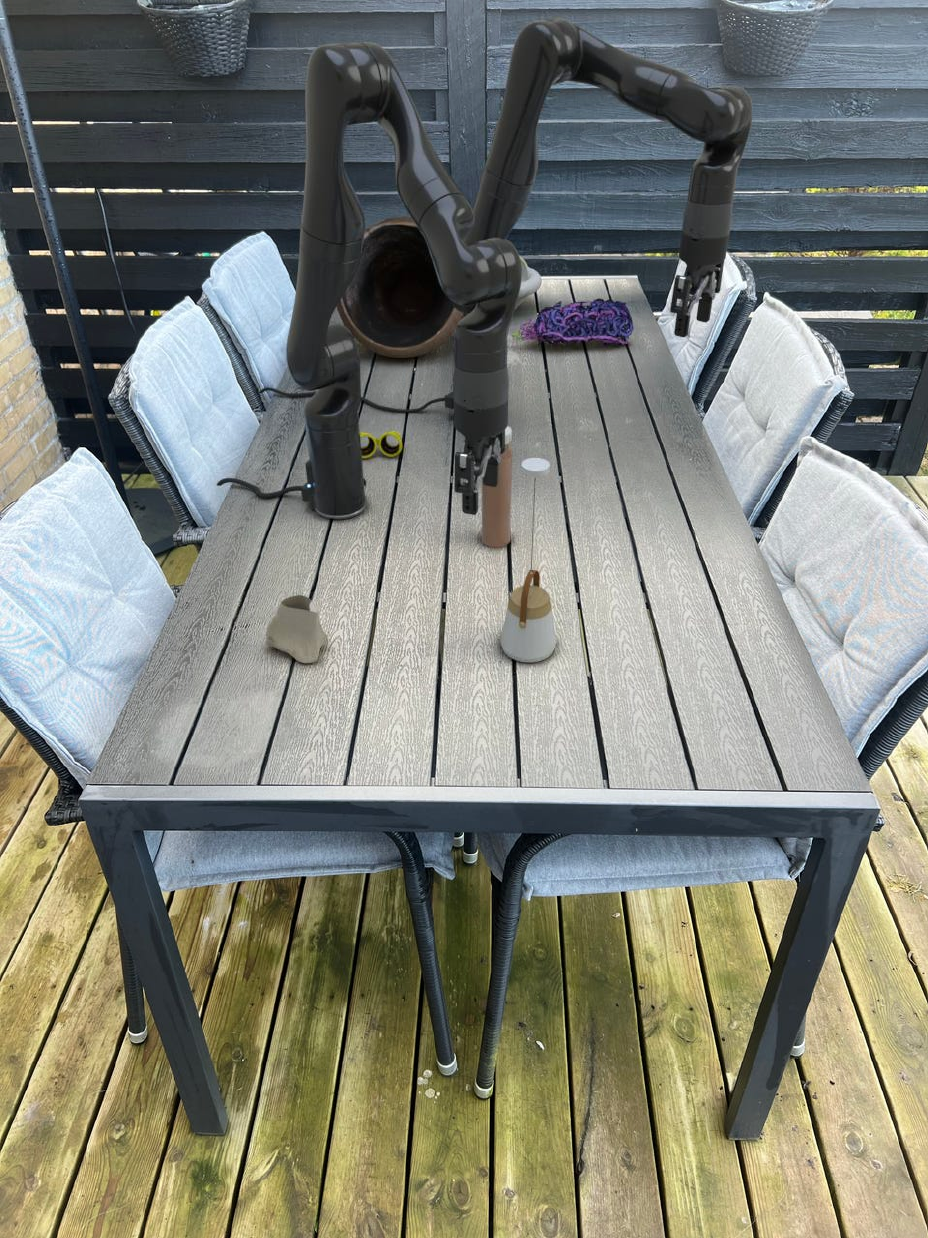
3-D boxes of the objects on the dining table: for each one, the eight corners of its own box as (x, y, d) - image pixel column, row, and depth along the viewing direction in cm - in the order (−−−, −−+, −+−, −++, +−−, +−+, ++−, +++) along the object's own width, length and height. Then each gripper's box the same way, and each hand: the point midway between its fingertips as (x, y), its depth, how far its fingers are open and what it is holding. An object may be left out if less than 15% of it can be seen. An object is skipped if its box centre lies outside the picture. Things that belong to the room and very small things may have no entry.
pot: (369, 208, 238) (367, 184, 209) (481, 265, 243) (494, 249, 214) (320, 328, 244) (311, 320, 215) (430, 381, 249) (435, 380, 220)
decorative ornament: (640, 324, 222) (516, 326, 219) (631, 360, 231) (512, 363, 228) (629, 291, 230) (509, 293, 227) (621, 327, 238) (506, 329, 236)
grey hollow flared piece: (327, 654, 140) (334, 590, 137) (317, 670, 132) (324, 604, 130) (268, 645, 140) (274, 582, 137) (255, 661, 132) (261, 594, 130)
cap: (511, 432, 151) (511, 423, 150) (512, 445, 147) (512, 436, 147) (482, 432, 151) (482, 423, 150) (483, 445, 147) (483, 436, 147)
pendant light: (546, 668, 133) (557, 484, 115) (492, 656, 136) (495, 473, 117) (562, 635, 139) (574, 455, 121) (510, 624, 142) (515, 445, 123)
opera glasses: (402, 450, 189) (400, 426, 187) (403, 457, 184) (401, 432, 182) (354, 452, 188) (352, 428, 186) (354, 460, 184) (352, 435, 182)
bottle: (509, 531, 163) (512, 425, 151) (511, 547, 159) (513, 439, 147) (481, 532, 163) (481, 425, 151) (481, 547, 159) (482, 439, 147)
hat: (455, 295, 261) (454, 240, 252) (532, 292, 263) (534, 237, 254) (465, 327, 242) (464, 268, 233) (548, 323, 244) (550, 264, 235)
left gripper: (473, 371, 133) (474, 472, 143) (435, 412, 122) (438, 518, 132) (523, 379, 131) (520, 481, 140) (488, 420, 120) (487, 527, 130)
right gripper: (703, 216, 156) (690, 312, 166) (664, 235, 147) (652, 336, 157) (745, 223, 152) (729, 320, 162) (708, 243, 143) (693, 345, 153)
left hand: (480, 498), depth 136 cm, fingers open, 8 cm apart
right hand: (691, 328), depth 160 cm, fingers open, 8 cm apart
